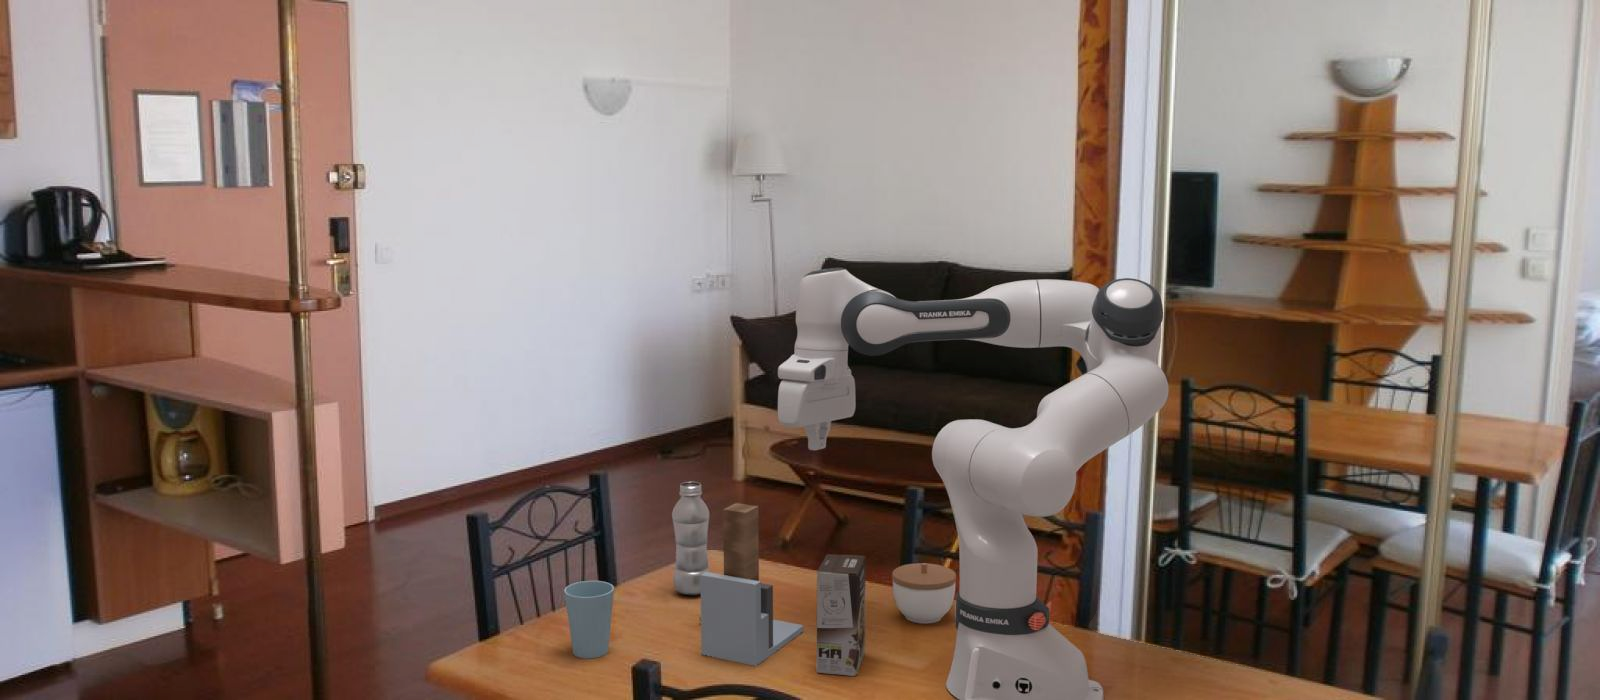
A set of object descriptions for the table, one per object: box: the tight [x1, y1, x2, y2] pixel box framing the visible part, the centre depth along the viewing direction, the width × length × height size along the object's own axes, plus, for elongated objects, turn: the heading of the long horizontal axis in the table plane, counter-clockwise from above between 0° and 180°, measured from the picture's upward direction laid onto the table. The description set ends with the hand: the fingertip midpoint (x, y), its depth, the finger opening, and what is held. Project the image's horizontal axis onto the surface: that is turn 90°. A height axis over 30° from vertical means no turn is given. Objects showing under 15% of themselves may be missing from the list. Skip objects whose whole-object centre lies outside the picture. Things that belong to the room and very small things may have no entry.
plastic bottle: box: [671, 481, 711, 596], centre depth 222 cm, size 6×7×20 cm
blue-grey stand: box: [700, 572, 805, 667], centre depth 200 cm, size 10×16×13 cm, turn 153°
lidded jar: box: [891, 562, 957, 625], centre depth 211 cm, size 11×11×9 cm
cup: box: [563, 580, 615, 659], centre depth 196 cm, size 8×8×10 cm
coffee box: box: [815, 553, 867, 677], centre depth 192 cm, size 9×6×16 cm
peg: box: [722, 502, 760, 581], centre depth 196 cm, size 4×4×22 cm
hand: (816, 449), depth 208 cm, fingers closed
